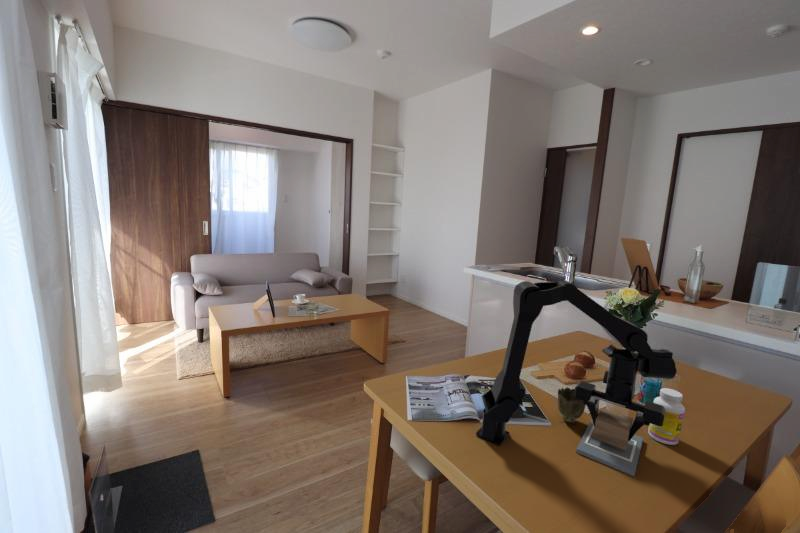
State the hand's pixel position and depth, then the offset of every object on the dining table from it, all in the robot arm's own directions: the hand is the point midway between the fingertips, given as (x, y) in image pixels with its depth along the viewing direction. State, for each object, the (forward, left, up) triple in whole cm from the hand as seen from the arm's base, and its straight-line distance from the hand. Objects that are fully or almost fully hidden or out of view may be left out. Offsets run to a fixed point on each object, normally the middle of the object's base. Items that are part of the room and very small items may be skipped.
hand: (612, 433), depth 92 cm
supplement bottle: (+14, -10, -4) cm, 18 cm away
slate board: (0, 0, -4) cm, 4 cm away
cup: (+5, +11, -4) cm, 13 cm away
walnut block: (0, 0, -1) cm, 1 cm away
